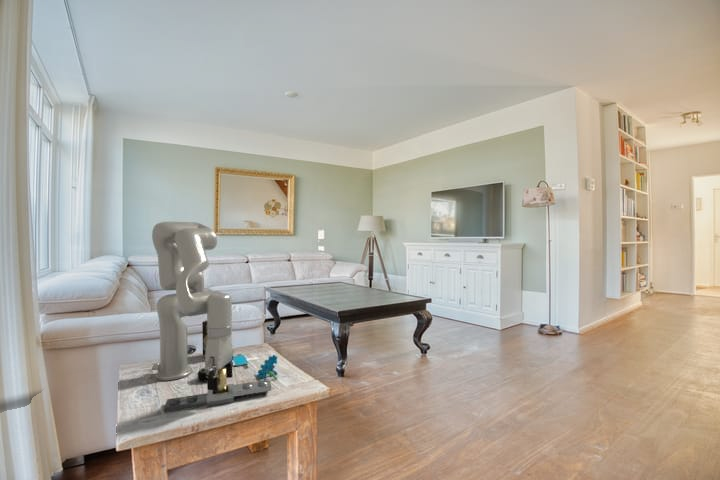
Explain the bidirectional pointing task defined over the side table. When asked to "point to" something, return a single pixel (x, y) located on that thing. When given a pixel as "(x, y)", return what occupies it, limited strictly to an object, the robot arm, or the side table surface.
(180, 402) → the gray studded rail
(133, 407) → the side table surface
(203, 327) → the coffee box
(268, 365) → the gear
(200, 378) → the tape measure
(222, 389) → the pin
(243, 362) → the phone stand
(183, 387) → the side table surface
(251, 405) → the side table surface
